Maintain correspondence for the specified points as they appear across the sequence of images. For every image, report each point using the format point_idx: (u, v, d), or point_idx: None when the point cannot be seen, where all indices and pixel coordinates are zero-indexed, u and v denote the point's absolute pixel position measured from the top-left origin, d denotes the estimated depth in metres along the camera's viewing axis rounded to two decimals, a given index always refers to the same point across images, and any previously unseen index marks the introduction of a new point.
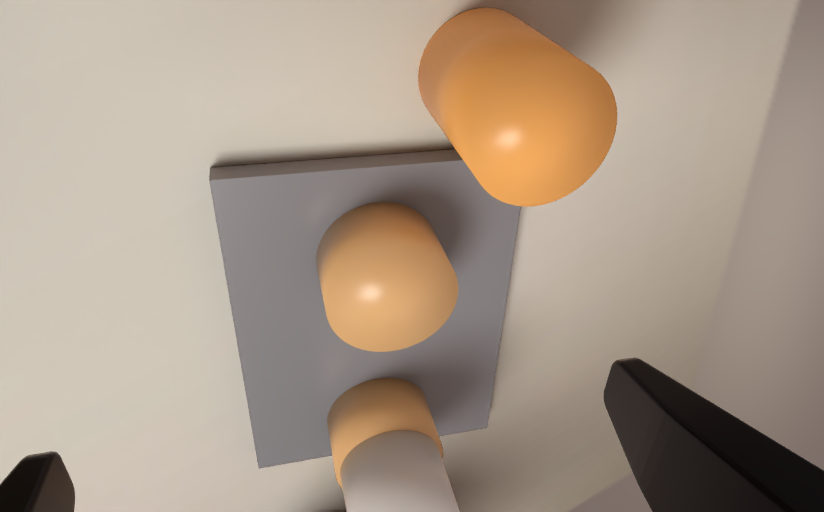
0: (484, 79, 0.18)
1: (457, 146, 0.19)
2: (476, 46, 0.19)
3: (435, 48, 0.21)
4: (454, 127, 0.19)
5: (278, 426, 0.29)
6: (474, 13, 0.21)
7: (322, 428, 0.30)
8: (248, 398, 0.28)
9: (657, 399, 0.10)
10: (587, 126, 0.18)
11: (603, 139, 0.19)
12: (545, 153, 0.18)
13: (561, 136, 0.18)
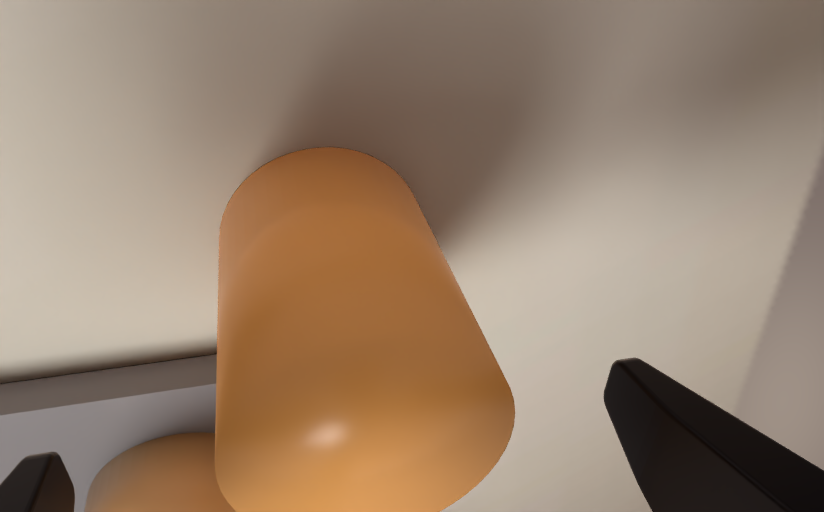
0: (244, 353, 0.09)
1: None
2: (262, 253, 0.10)
3: (228, 224, 0.12)
4: None
5: None
6: (295, 163, 0.12)
7: None
8: None
9: (657, 399, 0.10)
10: (457, 424, 0.10)
11: (492, 436, 0.10)
12: (380, 469, 0.10)
13: (406, 444, 0.10)
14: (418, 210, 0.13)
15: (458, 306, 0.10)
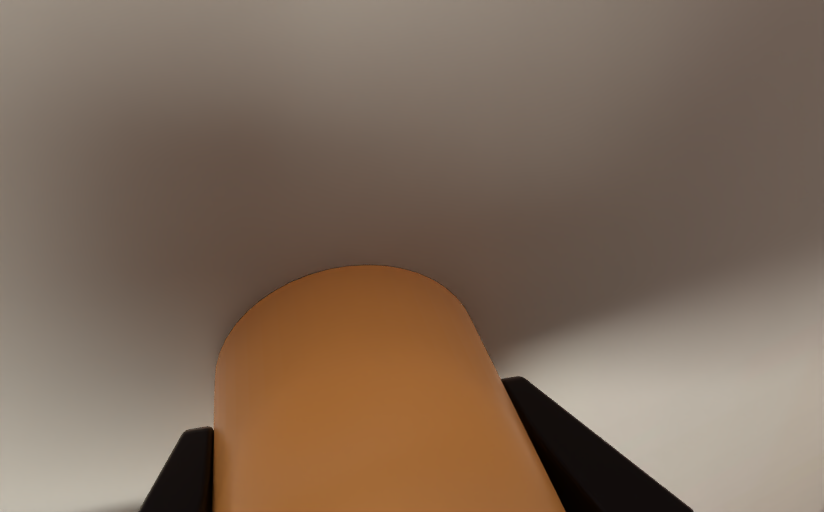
0: None
1: None
2: (277, 463, 0.07)
3: (228, 376, 0.09)
4: None
5: None
6: (319, 294, 0.09)
7: None
8: None
9: (529, 422, 0.09)
10: None
11: None
12: None
13: None
14: (484, 353, 0.09)
15: None
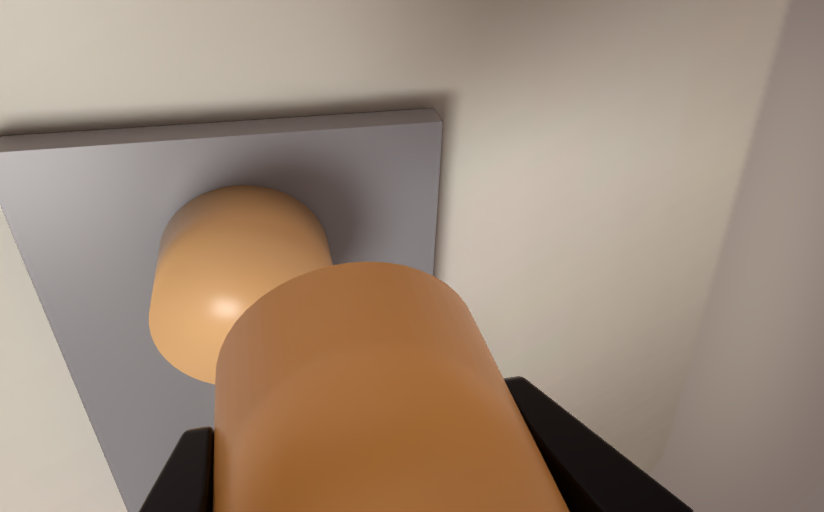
0: None
1: None
2: (278, 459, 0.07)
3: (228, 374, 0.09)
4: None
5: (147, 469, 0.23)
6: (320, 290, 0.09)
7: None
8: (99, 437, 0.22)
9: (529, 422, 0.09)
10: None
11: None
12: None
13: None
14: (485, 350, 0.09)
15: None
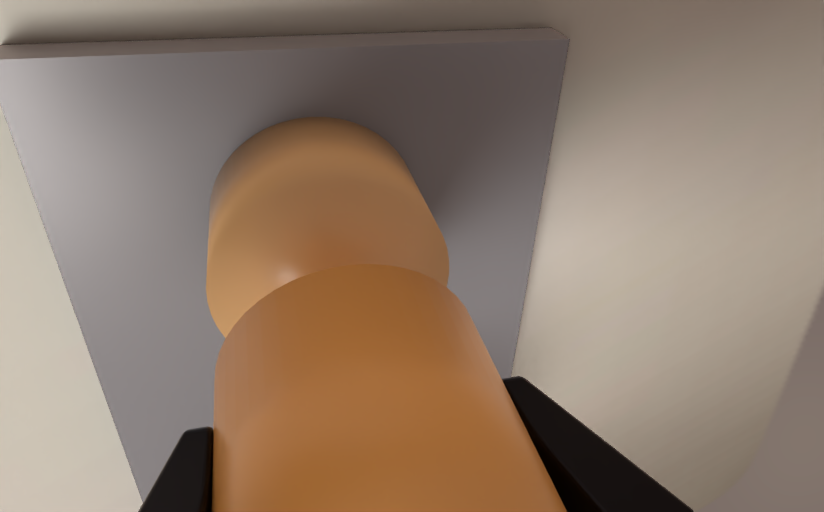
0: None
1: None
2: (277, 462, 0.07)
3: (227, 376, 0.09)
4: None
5: None
6: (319, 293, 0.09)
7: None
8: (123, 441, 0.18)
9: (529, 422, 0.09)
10: None
11: None
12: None
13: None
14: (484, 353, 0.09)
15: None
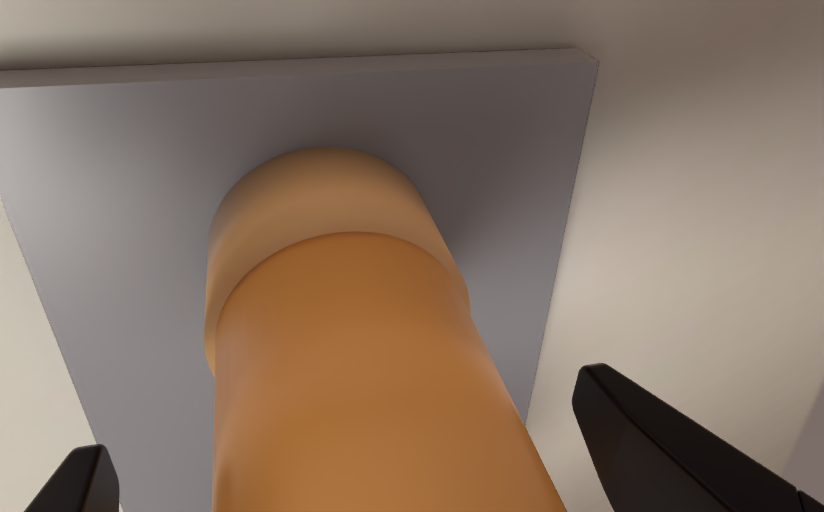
0: None
1: None
2: (272, 400, 0.08)
3: (227, 332, 0.10)
4: None
5: None
6: (312, 256, 0.10)
7: None
8: None
9: (621, 406, 0.09)
10: None
11: None
12: None
13: None
14: (465, 313, 0.10)
15: (539, 486, 0.07)
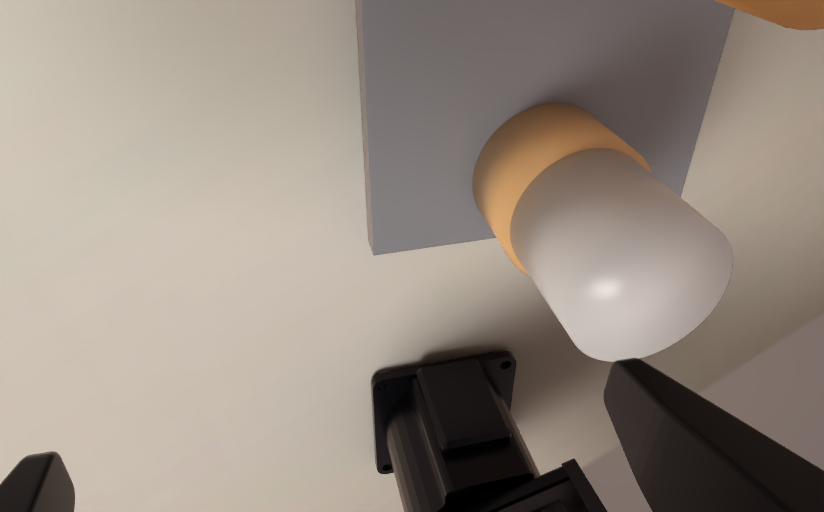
0: None
1: None
2: None
3: None
4: None
5: (406, 180, 0.20)
6: None
7: (464, 190, 0.21)
8: (369, 121, 0.19)
9: (657, 399, 0.10)
10: None
11: None
12: None
13: None
14: None
15: None
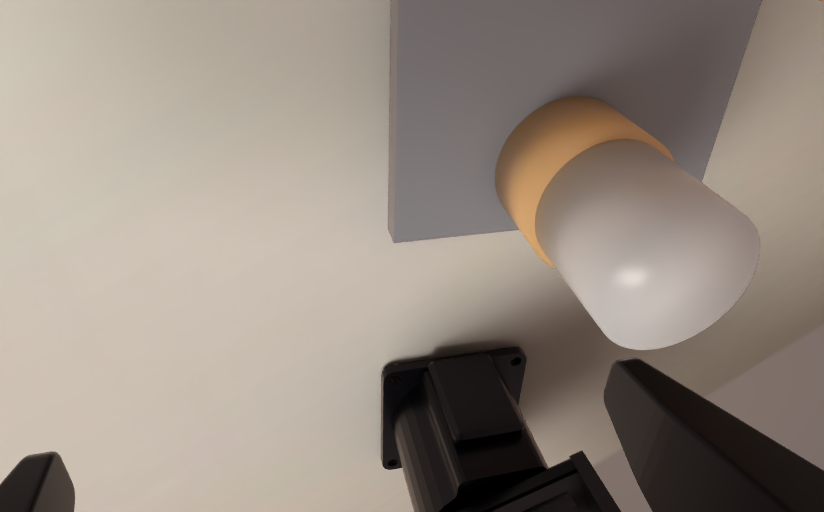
0: None
1: None
2: None
3: None
4: None
5: (431, 168, 0.20)
6: None
7: (487, 180, 0.21)
8: (398, 106, 0.19)
9: (657, 399, 0.10)
10: None
11: None
12: None
13: None
14: None
15: None
